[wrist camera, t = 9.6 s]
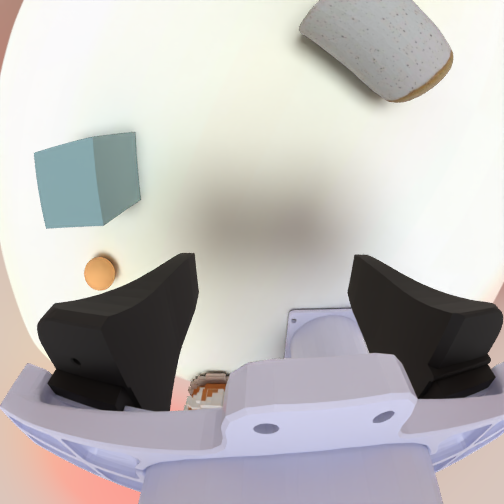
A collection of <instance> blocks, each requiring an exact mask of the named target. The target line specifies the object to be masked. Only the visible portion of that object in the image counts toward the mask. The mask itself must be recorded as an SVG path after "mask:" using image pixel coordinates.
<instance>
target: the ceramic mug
mask: <svg viewBox="0 0 504 504" xmlns="http://www.w3.org/2000/svg"><path fill="white" fill-rule="evenodd" d="M299 31H300V32H301V33H302V34H303V35H305V36H306V37H308V38H309V39H311V40H312V41H314V42H315V43H316V44H318V45H319V46H320V47H322V48H323V49H324V50H325V51H327V52H328V53H329V54H331V55H332V56H333V57H334V58H336V59H337V60H338V61H340V62H341V63H342V64H343V65H345V66H346V67H347V68H348V69H349V70H351V71H352V72H353V73H354V74H355V75H356V76H357V77H358V78H359V79H360V80H361V81H362V82H363V83H365V84H366V85H367V86H368V87H369V88H370V89H371V90H372V91H374V92H375V93H377V94H378V95H379V96H381V97H382V98H384V99H385V100H387V101H389V102H396V103H398V102H406V101H409V100H412V99H414V98H416V97H419V96H421V95H422V94H424V93H426V92H427V91H429V90H430V89H432V88H433V87H434V86H435V85H437V84H438V83H439V82H440V81H441V80H442V79H443V78H444V77H445V76H446V74H447V73H448V71H449V70H450V68H451V66H452V63H453V52H452V50H451V48H450V46H449V44H448V42H447V41H446V39H445V38H444V36H443V35H442V33H441V32H440V30H439V29H438V27H437V26H436V25H435V24H434V23H433V22H432V21H431V20H430V19H429V18H428V16H427V15H426V14H425V13H424V12H423V11H422V10H421V9H420V8H419V7H418V6H417V5H416V4H415V3H414V2H413V0H319V1H318V3H316V4H315V5H314V6H313V8H312V9H311V10H310V11H309V13H308V14H307V16H306V17H305V18H304V19H303V21H302V23H301V24H300V26H299Z"/></svg>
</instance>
